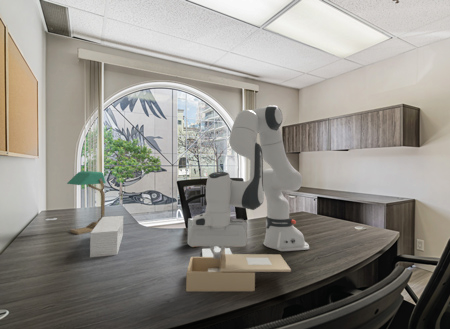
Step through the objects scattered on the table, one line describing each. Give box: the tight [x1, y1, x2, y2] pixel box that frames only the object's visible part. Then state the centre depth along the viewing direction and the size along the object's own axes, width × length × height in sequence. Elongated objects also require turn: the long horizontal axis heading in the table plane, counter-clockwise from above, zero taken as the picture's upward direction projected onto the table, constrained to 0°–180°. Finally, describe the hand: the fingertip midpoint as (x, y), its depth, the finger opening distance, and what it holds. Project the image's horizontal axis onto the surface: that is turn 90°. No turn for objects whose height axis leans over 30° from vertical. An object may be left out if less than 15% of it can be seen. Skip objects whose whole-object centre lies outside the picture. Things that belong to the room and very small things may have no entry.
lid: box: [220, 250, 292, 273], centre depth 84 cm, size 23×13×3 cm, turn 92°
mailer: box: [185, 256, 256, 292], centre depth 83 cm, size 22×13×6 cm, turn 92°
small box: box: [187, 217, 198, 248], centre depth 121 cm, size 8×6×13 cm
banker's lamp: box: [66, 170, 106, 235], centre depth 143 cm, size 16×21×35 cm
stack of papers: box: [89, 215, 124, 258], centre depth 119 cm, size 32×11×11 cm, turn 19°
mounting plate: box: [201, 246, 233, 257], centre depth 105 cm, size 18×13×2 cm
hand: (217, 258), depth 83 cm, fingers closed
